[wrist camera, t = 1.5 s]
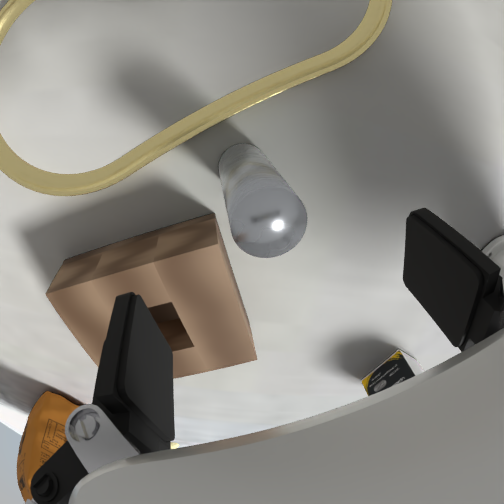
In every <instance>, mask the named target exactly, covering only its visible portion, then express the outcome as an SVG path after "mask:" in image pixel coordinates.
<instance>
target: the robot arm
mask: <svg viewBox="0 0 504 504" xmlns="http://www.w3.org/2000/svg"><path fill="white" fill-rule="evenodd" d="M403 281H404V284H405V286H406V287H407V288H408V289H409V291H410V292H411V293H412V294H413V295H414V297H415V298H416V299H417V300H418V301H419V303H420V304H421V305H422V306H423V308H424V309H425V310H426V311H427V312H428V314H429V315H430V316H431V317H432V319H433V320H434V321H435V323H436V324H437V325H438V326H439V328H440V329H441V330H442V331H443V333H444V334H445V335H446V337H447V338H448V339H449V341H450V342H451V343H452V345H453V346H455V347H458V348H459V349H460V350H461V353H459V354H458V355H456V356H454V357H452V358H450V359H448V360H446V361H445V362H443V363H441V364H439V365H437V366H435V367H433V368H431V369H429V370H427V371H425V372H423V373H421V374H418V375H416V376H414V377H412V378H410V379H408V380H405V381H403V382H401V383H399V384H397V385H394V386H392V387H390V388H387V389H385V390H383V391H380V392H378V393H375V394H373V395H370V396H368V397H365V398H363V399H360V400H358V401H355V402H352V403H350V404H347V405H344V406H342V407H339V408H336V409H333V410H330V411H327V412H324V413H321V414H318V415H315V416H312V417H309V418H306V419H302V420H299V421H296V422H292V423H289V424H286V425H282V426H278V427H275V428H271V429H267V430H263V431H259V432H255V433H251V434H247V435H243V436H238V437H234V438H229V439H224V440H219V441H214V442H209V443H204V444H199V445H193V446H188V447H182V448H175V449H171V442H170V441H173V440H174V438H175V430H174V399H173V353H172V350H171V347H170V346H169V344H168V342H167V341H166V339H165V337H164V336H163V334H162V332H161V331H160V329H159V327H158V325H157V324H156V322H155V320H154V318H153V317H152V315H151V313H150V311H149V309H148V308H147V306H146V304H145V302H144V300H143V299H142V297H141V296H140V295H139V294H138V295H135V293H134V292H129V293H125V294H122V295H118V296H116V298H115V302H114V306H113V310H112V314H111V319H110V323H109V327H108V331H107V336H106V340H105V341H104V344H103V348H102V353H101V358H100V363H99V368H98V373H97V378H96V384H95V389H94V395H93V401H92V404H85V405H82V406H79V407H78V408H76V409H75V410H74V411H73V412H72V413H71V414H70V415H69V417H68V419H67V421H66V425H65V435H66V438H67V441H66V442H65V443H64V444H63V445H62V446H61V447H60V448H59V449H58V450H57V451H56V452H55V453H54V454H53V455H52V456H51V457H50V458H49V459H48V460H47V461H46V462H45V463H44V464H43V465H42V466H41V467H40V468H39V469H38V470H37V471H36V472H35V474H34V475H33V477H32V480H31V485H30V490H31V495H32V497H33V498H32V500H30V499H27V501H26V502H25V504H504V235H502V236H500V237H498V238H496V239H494V240H493V241H491V242H490V243H489V244H488V245H487V246H486V247H485V248H484V249H483V250H482V251H480V250H479V249H478V248H477V247H476V246H474V245H473V244H472V243H471V242H470V241H468V240H467V239H466V238H465V237H463V236H462V235H461V234H460V233H458V232H457V231H456V230H455V229H453V228H452V227H451V226H449V225H448V224H447V223H446V222H444V221H443V220H442V219H440V218H439V217H438V216H436V215H435V214H434V213H432V212H431V211H429V210H428V209H426V208H422V209H418V210H415V211H412V212H410V214H409V217H407V220H406V240H405V257H404V270H403Z"/></svg>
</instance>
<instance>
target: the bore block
mask: <svg viewBox="0 0 504 504" xmlns="http://www.w3.org/2000/svg"><path fill="white" fill-rule="evenodd" d="M129 292H134V293H135V295H138V294H139V295H140V296H141V297H142V299H143V300H144V302H145V304H146V306H147V308H148V309H149V311H150V313H151V315H152V317H153V318H154V320H155V322H156V324H157V325H158V327H159V329H160V331H161V332H162V334H163V336H164V337H165V339H166V341H167V342H168V344H169V346H170V347H171V350H172V353H173V379H174V378H179V377H184V376H189V375H194V374H199V373H203V372H208V371H212V370H217V369H221V368H225V367H230V366H234V365H238V364H242V363H246V362H250V361H254V360H257V356H256V351H255V347H254V342H253V337H252V333H251V328H250V324H249V320H248V317H247V314H246V311H245V308H244V305H243V301H242V298H241V295H240V292H239V289H238V286H237V283H236V280H235V277H234V274H233V270H232V267H231V264H230V261H229V258H228V255H227V252H226V248H225V245H224V242H223V239H222V236H221V232H220V229H219V226H218V223H217V220H216V216H215V213H212V214H209V215H205V216H202V217H198V218H195V219H191V220H188V221H185V222H181V223H178V224H175V225H171V226H168V227H165V228H161V229H158V230H155V231H151V232H148V233H145V234H142V235H139V236H135V237H132V238H129V239H126V240H123V241H120V242H117V243H113V244H110V245H107V246H104V247H101V248H98V249H95V250H92V251H89V252H86V253H83V254H80V255H77V256H74V257H71V258H69V259H66V260H65V261H64V262H63V264H62V266H61V267H60V269H59V271H58V273H57V274H56V276H55V278H54V280H53V281H52V283H51V285H50V287H49V289H48V290H47V292H46V296H47V297H48V299H49V301H50V302H51V304H52V305H53V307H54V308H55V310H56V311H57V313H58V314H59V315H60V317H61V318H62V320H63V321H64V323H65V324H66V325H67V327H68V328H69V330H70V331H71V332H72V334H73V335H74V337H75V338H76V339H77V341H78V342H79V343H80V345H81V346H82V347H83V348H84V350H85V351H86V352H87V354H88V355H89V356H90V357H91V359H92V360H93V361H94V362H95V364H96V365H97V366H98V367H99V363H100V358H101V353H102V348H103V344H104V341H105V340H106V336H107V331H108V327H109V323H110V319H111V314H112V310H113V306H114V302H115V298H116V296H118V295H122V294H125V293H129Z"/></svg>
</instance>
